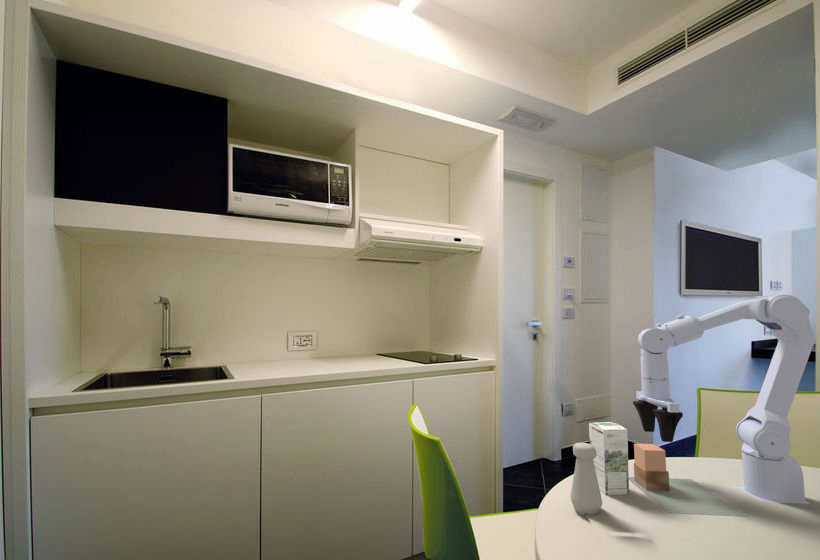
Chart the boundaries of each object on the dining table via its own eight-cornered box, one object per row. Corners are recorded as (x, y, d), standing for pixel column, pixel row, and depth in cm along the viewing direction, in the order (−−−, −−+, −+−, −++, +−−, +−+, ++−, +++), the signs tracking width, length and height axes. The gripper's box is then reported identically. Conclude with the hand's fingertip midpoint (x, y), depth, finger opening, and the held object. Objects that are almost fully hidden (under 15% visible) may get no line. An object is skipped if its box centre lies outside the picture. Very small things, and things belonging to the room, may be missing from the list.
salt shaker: (596, 505, 80) (594, 440, 81) (607, 520, 74) (605, 449, 75) (566, 503, 80) (565, 439, 81) (575, 518, 75) (573, 448, 76)
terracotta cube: (654, 463, 90) (653, 444, 91) (666, 471, 86) (665, 450, 86) (634, 463, 91) (633, 443, 91) (645, 471, 86) (644, 450, 87)
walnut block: (656, 481, 90) (655, 463, 91) (669, 491, 85) (668, 472, 86) (634, 480, 91) (633, 462, 91) (646, 490, 86) (645, 471, 86)
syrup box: (612, 485, 89) (610, 420, 91) (630, 497, 84) (627, 428, 85) (589, 486, 89) (587, 421, 90) (606, 498, 83) (603, 428, 84)
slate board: (691, 481, 92) (691, 479, 92) (749, 519, 75) (749, 516, 75) (626, 479, 93) (625, 476, 93) (668, 516, 76) (668, 512, 76)
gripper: (623, 373, 101) (625, 427, 100) (654, 383, 87) (657, 445, 86) (651, 374, 101) (653, 427, 100) (687, 383, 86) (690, 446, 85)
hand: (657, 436), depth 93 cm, fingers open, 7 cm apart
